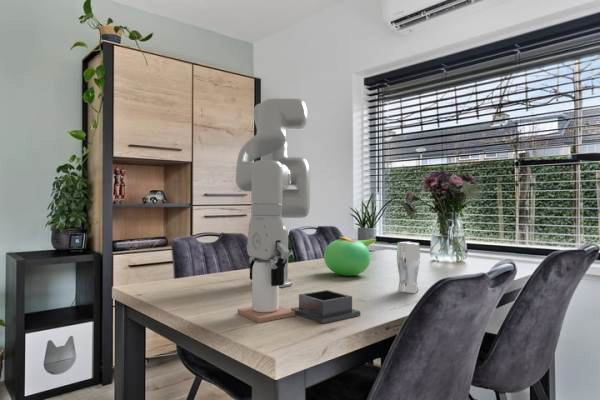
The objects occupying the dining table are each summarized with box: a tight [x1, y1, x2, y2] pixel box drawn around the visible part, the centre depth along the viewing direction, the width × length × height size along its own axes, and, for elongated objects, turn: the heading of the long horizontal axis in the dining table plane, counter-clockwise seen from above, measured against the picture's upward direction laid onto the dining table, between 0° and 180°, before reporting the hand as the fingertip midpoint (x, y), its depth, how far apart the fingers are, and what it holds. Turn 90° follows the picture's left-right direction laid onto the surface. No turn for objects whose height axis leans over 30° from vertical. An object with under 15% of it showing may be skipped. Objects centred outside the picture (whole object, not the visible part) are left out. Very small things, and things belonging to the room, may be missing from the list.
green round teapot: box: [323, 236, 377, 277], centre depth 156 cm, size 18×17×15 cm
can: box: [251, 259, 280, 313], centre depth 100 cm, size 6×6×12 cm
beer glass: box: [396, 241, 421, 294], centre depth 128 cm, size 7×7×15 cm
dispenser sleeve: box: [290, 289, 361, 324], centre depth 101 cm, size 12×12×4 cm
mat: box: [237, 305, 296, 324], centre depth 100 cm, size 10×10×1 cm
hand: (266, 282), depth 100 cm, fingers open, 9 cm apart
